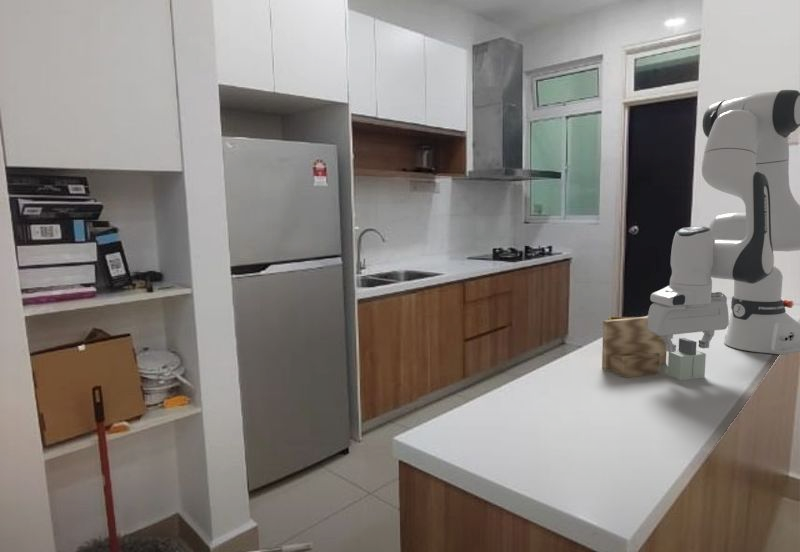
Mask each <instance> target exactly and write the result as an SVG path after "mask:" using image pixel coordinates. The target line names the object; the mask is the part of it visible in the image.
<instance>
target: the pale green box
mask: <svg viewBox="0 0 800 552" xmlns="http://www.w3.org/2000/svg"><path fill="white" fill-rule="evenodd" d="M706 356H707V355H706V353H705V352H701V351H700V350H697V341H694V340H692V339H689V338H686V337H679V338H678V350H676V351H675V352H668V357H667V358H668V362H667V363H668V364H667V375H668V376H670V377H672V378H674V379H676V380H679V381H685V380H691V379H692V380H693V379H701V378H705V376H706V361H707V360H706V359H707V358H706Z"/></svg>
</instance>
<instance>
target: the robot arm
mask: <svg viewBox="0 0 800 552" xmlns="http://www.w3.org/2000/svg"><path fill="white" fill-rule="evenodd" d="M799 127H800V91H799V90H796V89H781V90H779V91H767V92H759V93H751V94H750V95H749V94H748V95H745V96H740V97H736V98H731V99H729V100H725V99H724V100H722V101H718V102H716V103H713V104H711V105H710V106H709V107H707V109H706V110H705V112H704V114H703V117H702V131H703V134H704V135H705V137H706V138H707V141H706V144H705V148H704V153H703V156H702V162H701V163H702V164H701V175H702V177H703V179H704V181H705V182H706V183H707V184H708V185H709V186H710V187H712V188H713V189H715V190H718V191H720V192H723V193H726V194H729V195H733V196H735V197H737V198H740V199H741V200H742V202H743V203H744V205H745V211H734V212H729V213H728V212H727V213H723V214H719V215H716V216H715V217H714V218H713V219H712V221H710V222H711V223H710V224H709V227H706V226H702V225H701V226H697V225H695V226H689V227H682V228H679V229H678V230H677V231H675V234H674V236H673V239H672V242H671V243H672V245H671V253H670V268H671V275H670V278H669V285H667V286H664V287H663V288H661V289H659V290H657V291H654V292H652V293H651V294H650V297H649V298H650V301H651V302H652V304H651V305H650V306H649V309H648V315H647V316H648V330H649V331H650V333H652V334H655V335H658V336H662V339H663V340H664V342H665V344H666V351H667V352H668V353H669V352H675V351H677V345H676V344H675V343H673V341H672V339H674V335H681V334H683V335H684V334H692V333H701V332H702V333H703V335H702V337H701V339H699V340H698V347H699V348H700V349H709V348H710V342H711V341H712V339H713V338H714V336H715V331H723V330H726V329H727V333H726V334H725V336H724V344H725V345H726V346H728V347H731V348H733V349H738V350H741V351H747V352H753V353H765V354H773V355H781V356H785V355H786V356H787V355H790V354H794V353H795V354H796V353H799V352H800V322H798V321H797V320H796V319H794V318H793V317H791V315H789V313H787V311H786V308H788V309H789V308H790V309H792V308H793V307H794V305H795V303H794V301H792V300H787V299H784V300H783V299H782V291H783V290H782V289H783V272H781V270H780V269H779V268H777V267H776V266H775V265H774V264H775V257H774V252H797V251H800V204H799V203H798V202H797V200H796V199H795V197H794V196H793V194H792V191H791V187H790V176H789V175H790V174H789V173H790V172H789V164H790V163H789V161H790V151H789V150H790V148H789V147H790V146H789V138H788V137H789V136H790V135H791V133H793V132H795V131H796V130H798V129H799ZM712 278H713V279H719V280H720V279H721V280H728V281H729V280H731V281H733V296H732V297H731V302H730V303H731V304H730V305H731V306H730V308H731V311H732V312H731V313H730V314H729V307H728V302H727V301H728V299H727V298H728V297H727V296H726V295H725V293H723V292H721V291H717V292H712V289H713V280H712ZM729 315H730V316H729Z"/></svg>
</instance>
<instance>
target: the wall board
mask: <svg viewBox="0 0 800 552" xmlns="http://www.w3.org/2000/svg"><path fill="white" fill-rule="evenodd" d="M635 317H636V318H624V319H613V320H608V319H606V320H605V319H604V320H602V352H601V353H602V356H601V357H602V358H601V359H602V360H601V369H602V370H604V371H609V372H612V373H614V374H616V375H618V376H620V377H622V378H624V379H625V378H633V377H640V376H641V377H642V376H650V375H659V374H660V365H665V364H667V352H668V351H666V344H665V342H664V340H663V339H662V336H658V335H655V334H652V333H650V331H649V330H648V315H647V316H639V317H638V316H635Z"/></svg>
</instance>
